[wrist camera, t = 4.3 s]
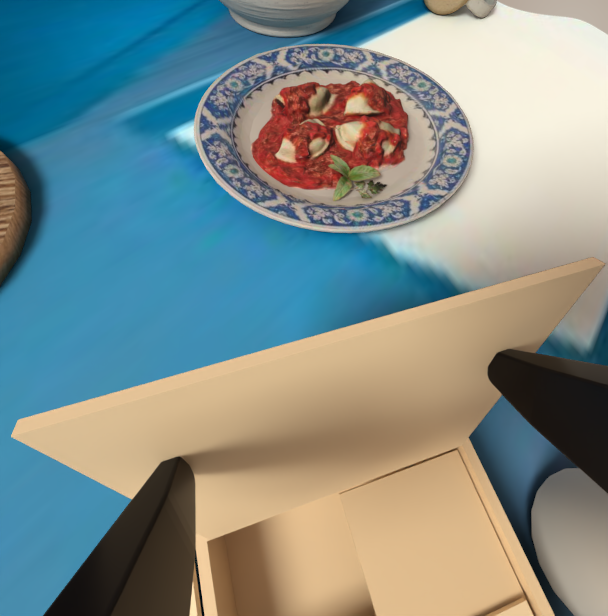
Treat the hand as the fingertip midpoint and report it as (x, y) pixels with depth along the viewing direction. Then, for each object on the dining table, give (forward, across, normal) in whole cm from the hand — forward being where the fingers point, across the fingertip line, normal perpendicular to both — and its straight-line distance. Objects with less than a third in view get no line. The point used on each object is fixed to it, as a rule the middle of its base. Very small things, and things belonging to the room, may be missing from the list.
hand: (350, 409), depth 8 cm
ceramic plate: (+26, -10, -10) cm, 29 cm away
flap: (+3, 0, +7) cm, 8 cm away
